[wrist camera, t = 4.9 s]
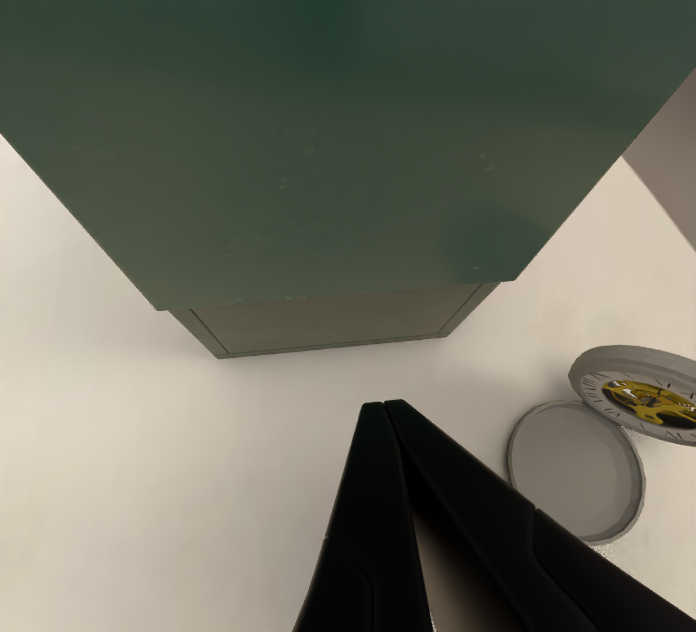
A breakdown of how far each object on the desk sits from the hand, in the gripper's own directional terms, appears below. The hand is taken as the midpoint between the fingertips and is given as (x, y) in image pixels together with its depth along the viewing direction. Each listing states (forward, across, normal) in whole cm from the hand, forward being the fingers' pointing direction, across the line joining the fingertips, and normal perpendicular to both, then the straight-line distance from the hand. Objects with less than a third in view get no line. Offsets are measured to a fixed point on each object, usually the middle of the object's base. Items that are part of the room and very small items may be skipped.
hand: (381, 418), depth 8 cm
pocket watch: (+8, -12, +10) cm, 18 cm away
